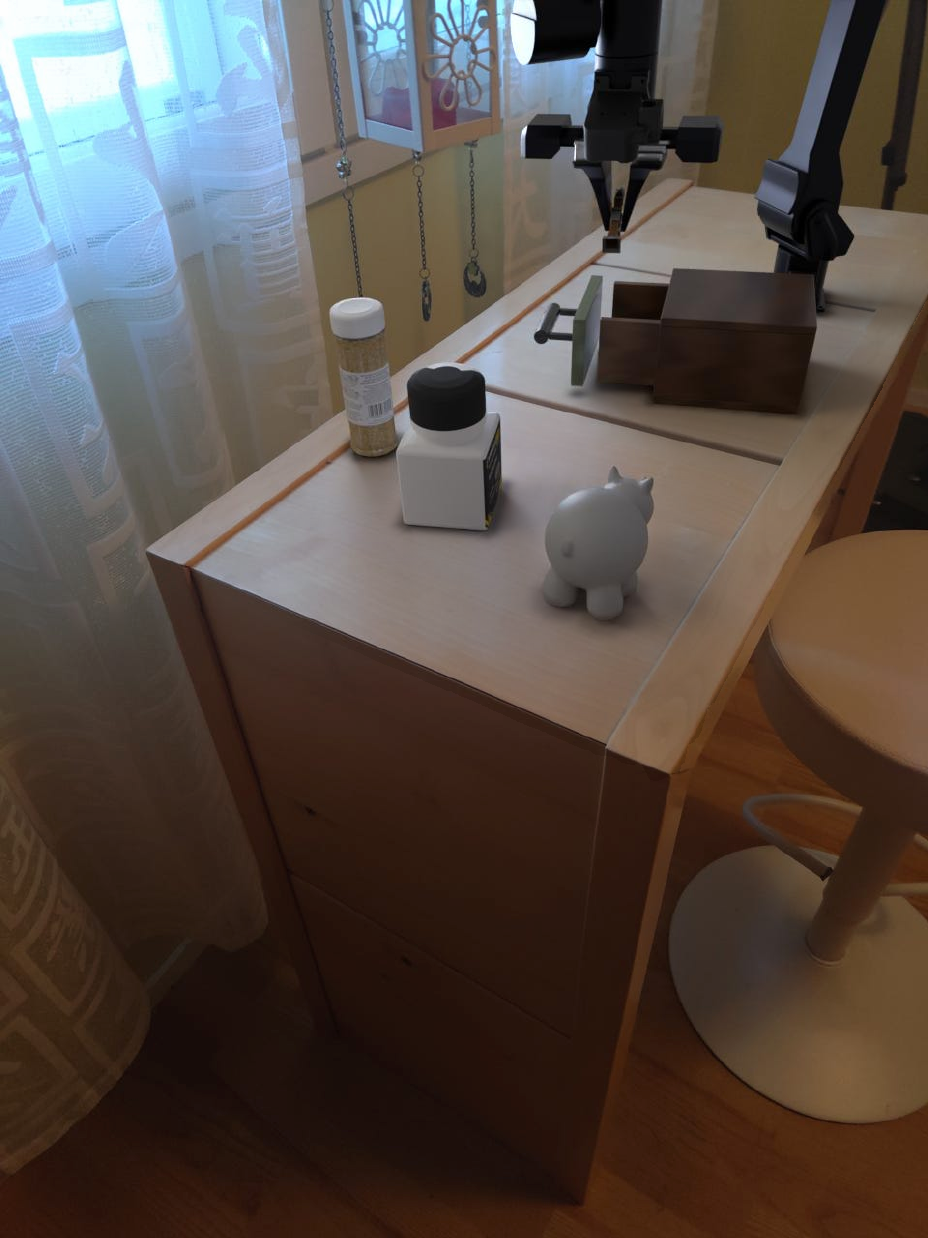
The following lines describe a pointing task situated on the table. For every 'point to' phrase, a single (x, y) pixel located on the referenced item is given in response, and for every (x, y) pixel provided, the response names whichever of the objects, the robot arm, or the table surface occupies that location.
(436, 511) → the medicine bottle
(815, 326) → the cabinet
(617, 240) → the wooden post with brackets
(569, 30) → the robot arm
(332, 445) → the table surface
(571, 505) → the chubby cartoon animal
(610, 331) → the drawer
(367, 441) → the sprinkles bottle
